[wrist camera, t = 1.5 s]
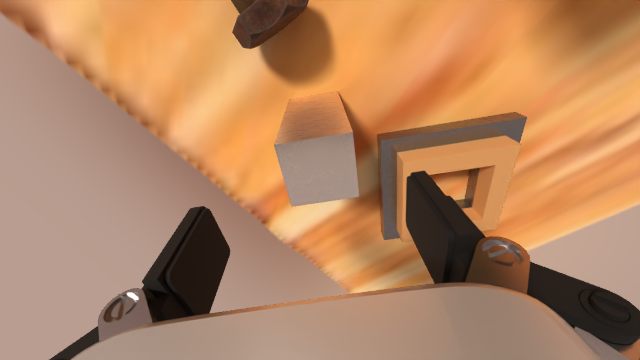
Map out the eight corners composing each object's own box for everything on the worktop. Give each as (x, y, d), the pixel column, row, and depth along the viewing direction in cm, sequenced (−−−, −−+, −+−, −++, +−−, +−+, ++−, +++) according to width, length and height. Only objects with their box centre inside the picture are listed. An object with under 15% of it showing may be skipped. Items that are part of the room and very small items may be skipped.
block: (337, 91, 22) (352, 131, 13) (343, 137, 24) (359, 196, 16) (289, 99, 22) (274, 145, 14) (299, 144, 24) (291, 206, 16)
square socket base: (515, 112, 23) (545, 124, 20) (488, 216, 30) (507, 237, 27) (377, 134, 24) (385, 149, 21) (381, 231, 31) (388, 252, 28)
